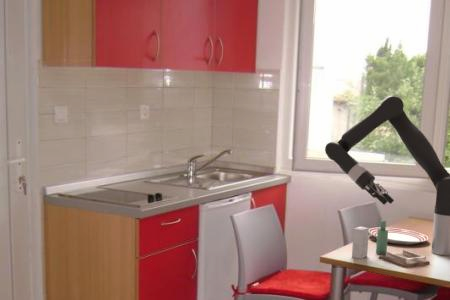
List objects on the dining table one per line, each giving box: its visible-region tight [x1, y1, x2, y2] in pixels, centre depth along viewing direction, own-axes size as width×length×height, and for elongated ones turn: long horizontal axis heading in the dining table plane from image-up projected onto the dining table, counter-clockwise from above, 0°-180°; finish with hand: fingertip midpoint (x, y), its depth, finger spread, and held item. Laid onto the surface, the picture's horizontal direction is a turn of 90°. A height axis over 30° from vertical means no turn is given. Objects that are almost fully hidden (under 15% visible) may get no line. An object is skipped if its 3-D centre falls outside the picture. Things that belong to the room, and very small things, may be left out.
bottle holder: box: [378, 249, 431, 268], centre depth 243 cm, size 14×14×3 cm
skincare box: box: [351, 226, 370, 260], centre depth 247 cm, size 6×4×12 cm
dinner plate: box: [369, 226, 429, 246], centre depth 281 cm, size 28×27×3 cm
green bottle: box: [375, 219, 388, 256], centre depth 254 cm, size 4×4×14 cm
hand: (389, 202), depth 249 cm, fingers open, 8 cm apart
